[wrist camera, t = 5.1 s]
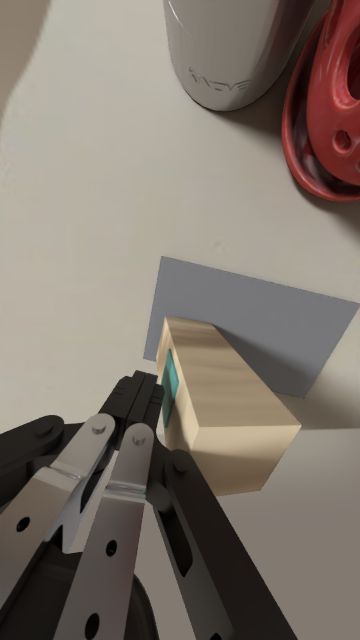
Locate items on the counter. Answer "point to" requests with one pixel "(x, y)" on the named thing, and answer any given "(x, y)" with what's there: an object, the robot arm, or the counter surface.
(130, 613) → the robot arm
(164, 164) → the counter surface
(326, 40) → the plant pot
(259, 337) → the rubber mat
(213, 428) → the maple block
